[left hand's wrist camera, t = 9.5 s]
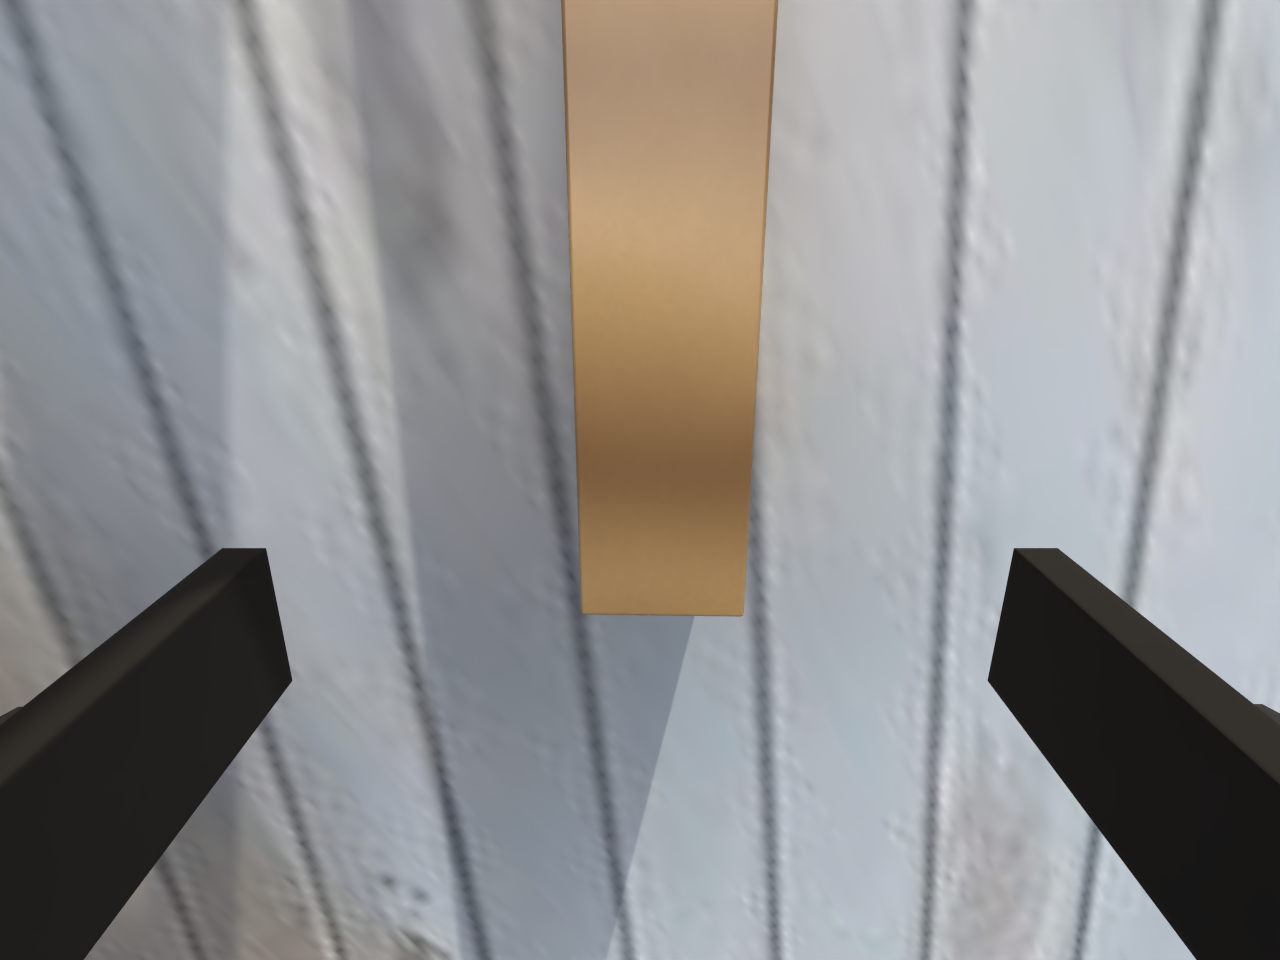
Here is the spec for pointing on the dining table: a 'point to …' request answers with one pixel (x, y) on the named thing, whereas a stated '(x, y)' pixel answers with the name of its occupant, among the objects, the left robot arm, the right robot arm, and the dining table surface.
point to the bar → (666, 292)
